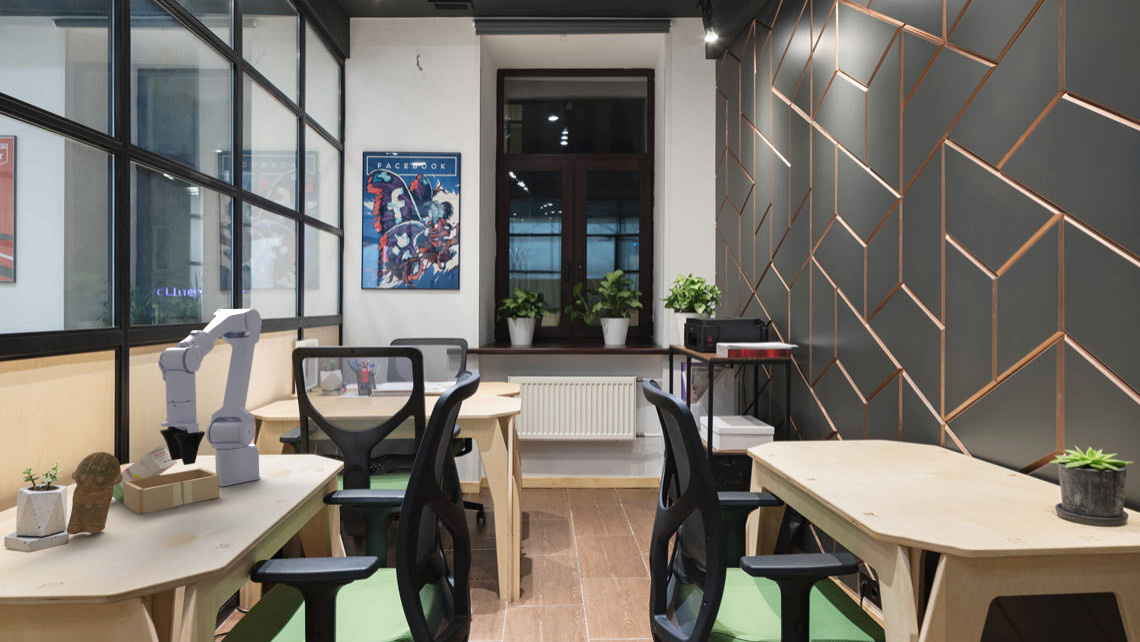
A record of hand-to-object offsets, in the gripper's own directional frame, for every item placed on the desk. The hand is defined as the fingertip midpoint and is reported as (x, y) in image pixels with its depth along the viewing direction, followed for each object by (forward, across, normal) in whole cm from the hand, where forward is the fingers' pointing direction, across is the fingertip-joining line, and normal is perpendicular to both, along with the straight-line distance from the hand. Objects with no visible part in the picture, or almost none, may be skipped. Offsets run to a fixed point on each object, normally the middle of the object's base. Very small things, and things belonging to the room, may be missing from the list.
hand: (183, 461), depth 145 cm
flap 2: (+9, +2, +3) cm, 10 cm away
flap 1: (+9, +2, -5) cm, 10 cm away
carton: (+9, -4, -1) cm, 10 cm away
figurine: (+10, +7, -18) cm, 22 cm away
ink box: (+8, -18, -8) cm, 21 cm away
